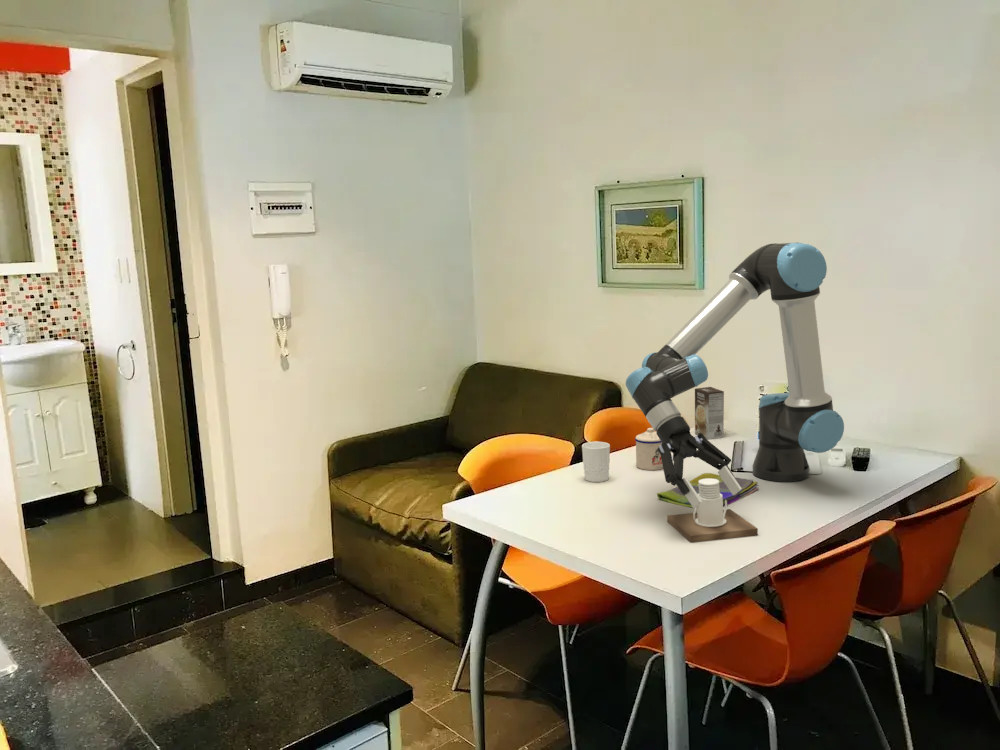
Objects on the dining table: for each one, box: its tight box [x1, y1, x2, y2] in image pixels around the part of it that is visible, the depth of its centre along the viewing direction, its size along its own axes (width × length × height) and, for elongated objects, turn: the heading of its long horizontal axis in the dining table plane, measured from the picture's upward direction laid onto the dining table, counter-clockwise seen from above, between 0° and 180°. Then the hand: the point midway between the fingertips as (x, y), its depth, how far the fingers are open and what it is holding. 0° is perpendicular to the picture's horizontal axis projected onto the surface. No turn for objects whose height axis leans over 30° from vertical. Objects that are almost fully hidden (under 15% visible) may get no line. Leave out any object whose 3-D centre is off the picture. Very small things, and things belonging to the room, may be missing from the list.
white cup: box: [581, 441, 611, 483], centre depth 228 cm, size 8×8×10 cm
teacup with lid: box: [634, 427, 664, 471], centre depth 239 cm, size 12×9×12 cm
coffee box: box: [694, 386, 725, 440], centre depth 271 cm, size 9×6×16 cm
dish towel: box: [656, 472, 759, 510], centre depth 211 cm, size 18×24×3 cm
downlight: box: [692, 478, 728, 527], centre depth 185 cm, size 8×7×10 cm
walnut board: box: [666, 508, 759, 543], centre depth 186 cm, size 16×14×2 cm
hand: (718, 498), depth 183 cm, fingers open, 13 cm apart
